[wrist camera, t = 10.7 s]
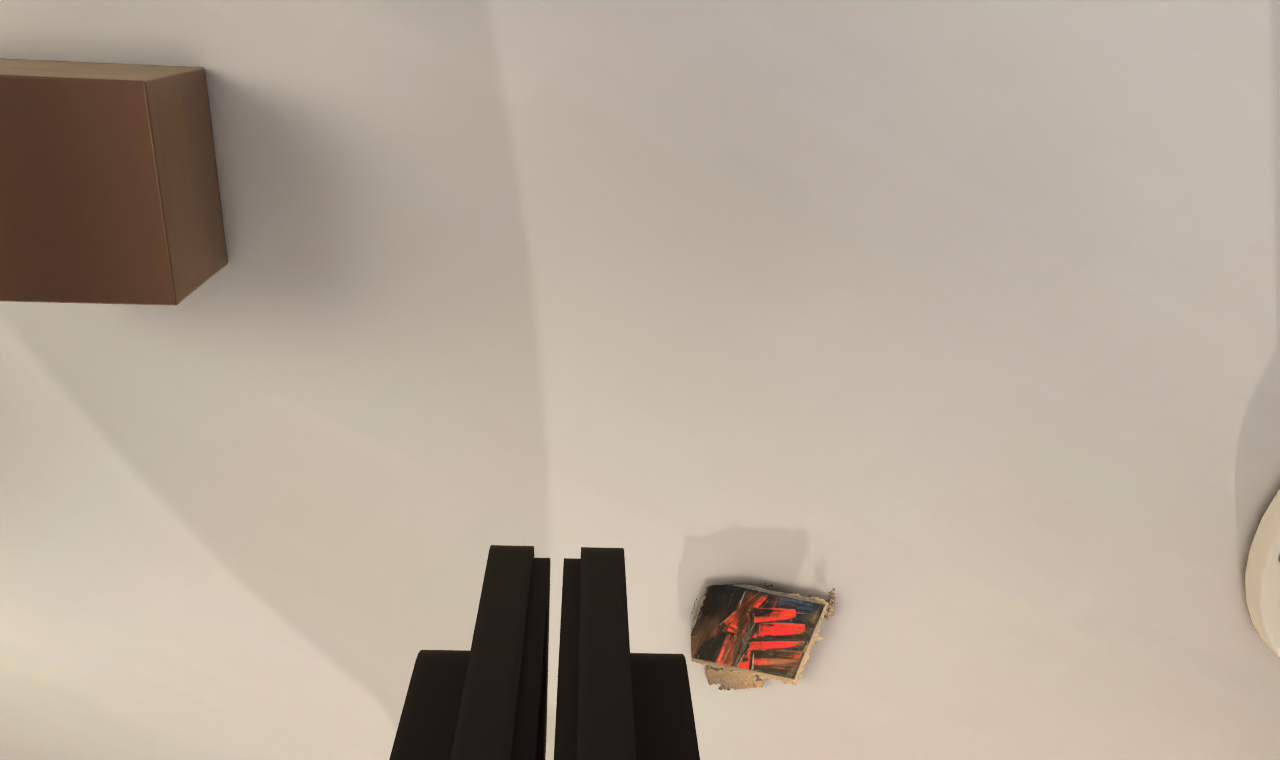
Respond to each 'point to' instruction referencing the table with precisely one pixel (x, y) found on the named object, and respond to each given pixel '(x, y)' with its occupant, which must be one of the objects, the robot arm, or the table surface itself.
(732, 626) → the painted wall fragment
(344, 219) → the table surface
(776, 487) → the table surface
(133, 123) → the walnut block
